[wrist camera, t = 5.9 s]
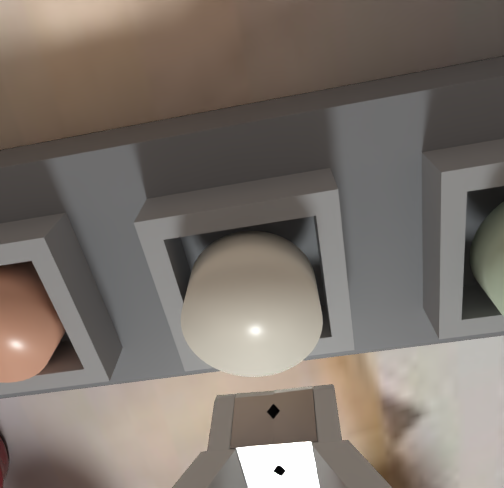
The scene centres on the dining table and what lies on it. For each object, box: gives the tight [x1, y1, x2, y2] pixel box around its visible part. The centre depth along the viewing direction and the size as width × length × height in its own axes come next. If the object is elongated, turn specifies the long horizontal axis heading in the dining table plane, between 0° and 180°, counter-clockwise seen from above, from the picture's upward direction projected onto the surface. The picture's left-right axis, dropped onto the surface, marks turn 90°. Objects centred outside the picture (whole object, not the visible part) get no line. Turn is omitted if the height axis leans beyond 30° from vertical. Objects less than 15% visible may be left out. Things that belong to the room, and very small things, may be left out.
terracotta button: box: [0, 261, 66, 383], centre depth 18 cm, size 5×5×2 cm
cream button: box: [181, 231, 323, 377], centre depth 16 cm, size 5×5×2 cm
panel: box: [0, 56, 504, 399], centre depth 19 cm, size 32×11×5 cm, turn 101°
